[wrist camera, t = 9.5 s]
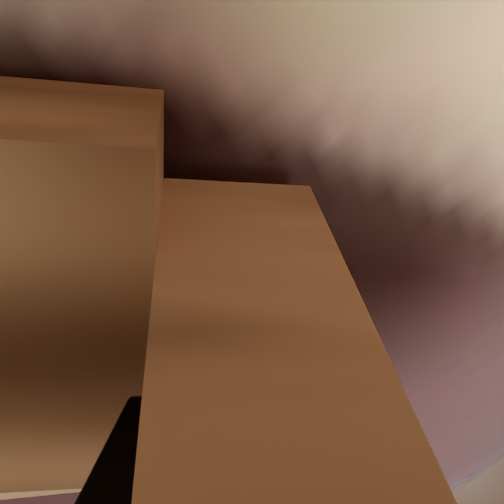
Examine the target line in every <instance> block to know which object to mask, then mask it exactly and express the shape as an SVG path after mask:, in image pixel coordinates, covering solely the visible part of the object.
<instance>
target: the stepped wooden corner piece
mask: <svg viewBox="0 0 504 504" xmlns="http://www.w3.org/2000/svg"><path fill="white" fill-rule="evenodd" d="M163 176H164V90H160V89H148V88H136V87H124V86H113V85H101V84H89V83H78V82H66V81H54V80H43V79H31V78H19V77H8V76H0V493H9V492H27V491H45V490H64V489H82V488H83V486H84V484H85V482H86V480H87V478H88V476H89V474H90V472H91V470H92V468H93V466H94V464H95V462H96V460H97V458H98V457H99V455H100V453H101V451H102V449H103V447H104V445H105V443H106V441H107V439H108V437H109V435H110V433H111V431H112V429H113V427H114V425H115V423H116V421H117V419H118V417H119V415H120V414H121V412H122V410H123V408H124V406H125V404H126V402H127V400H128V399H129V398H130V397H131V396H142V401H141V411H140V421H139V431H138V441H137V452H136V462H135V472H134V482H133V492H132V502H131V504H457V503H456V500H455V498H454V496H453V494H452V492H451V490H450V487H449V485H448V483H447V481H446V479H445V477H444V475H443V472H442V470H441V468H440V466H439V464H438V462H437V459H436V457H435V455H434V453H433V451H432V449H431V446H430V444H429V442H428V440H427V438H426V436H425V433H424V431H423V429H422V427H421V425H420V423H419V421H418V418H417V416H416V414H415V412H414V410H413V408H412V405H411V403H410V401H409V399H408V397H407V395H406V392H405V390H404V388H403V386H402V384H401V382H400V380H399V377H398V375H397V373H396V371H395V369H394V367H393V364H392V362H391V360H390V358H389V356H388V354H387V351H386V349H385V347H384V345H383V343H382V341H381V338H380V336H379V334H378V332H377V330H376V328H375V326H374V323H373V321H372V319H371V317H370V315H369V313H368V310H367V308H366V306H365V304H364V302H363V300H362V297H361V295H360V293H359V291H358V289H357V287H356V284H355V282H354V280H353V278H352V276H351V274H350V272H349V269H348V267H347V265H346V263H345V261H344V259H343V256H342V254H341V252H340V250H339V248H338V246H337V243H336V241H335V239H334V237H333V235H332V233H331V230H330V228H329V226H328V224H327V222H326V220H325V218H324V215H323V213H322V211H321V209H320V207H319V205H318V202H317V200H316V198H315V196H314V194H313V192H312V189H311V187H310V186H301V185H282V184H264V183H246V182H227V181H209V180H190V179H172V178H163Z"/></svg>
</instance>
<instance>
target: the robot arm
mask: <svg viewBox="0 0 504 504" xmlns="http://www.w3.org/2000/svg"><path fill="white" fill-rule="evenodd" d="M141 401H142V396H131V397H130V398H129V399H128V400H127V402H126V404H125V406H124V408H123V410H122V412H121V414H120V415H119V417H118V419H117V421H116V423H115V425H114V427H113V429H112V431H111V433H110V435H109V437H108V439H107V441H106V443H105V445H104V447H103V449H102V451H101V453H100V455H99V457H98V458H97V460H96V462H95V464H94V466H93V468H92V470H91V472H90V474H89V476H88V478H87V480H86V482H85V484H84V486H83V488H82V490H81V492H80V494H79V496H78V498H77V500H76V502H75V503H74V504H131V502H132V492H133V482H134V472H135V462H136V452H137V441H138V431H139V421H140V411H141Z"/></svg>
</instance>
